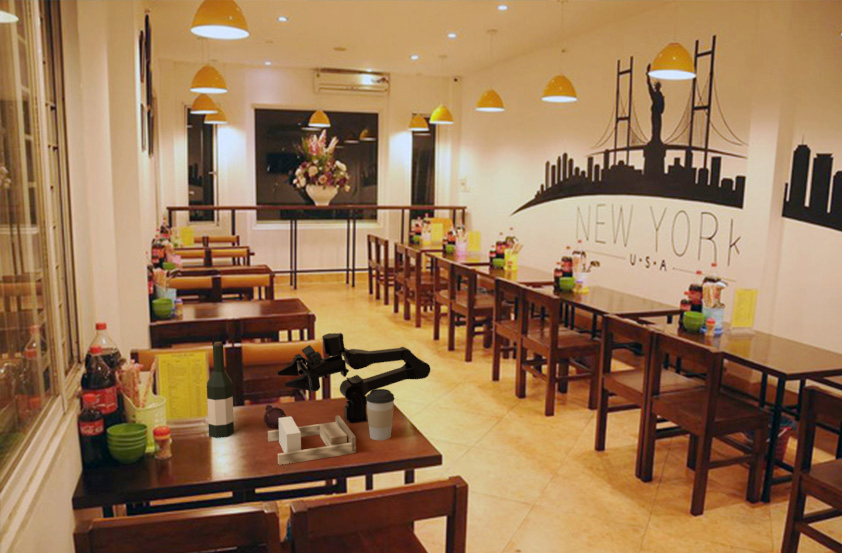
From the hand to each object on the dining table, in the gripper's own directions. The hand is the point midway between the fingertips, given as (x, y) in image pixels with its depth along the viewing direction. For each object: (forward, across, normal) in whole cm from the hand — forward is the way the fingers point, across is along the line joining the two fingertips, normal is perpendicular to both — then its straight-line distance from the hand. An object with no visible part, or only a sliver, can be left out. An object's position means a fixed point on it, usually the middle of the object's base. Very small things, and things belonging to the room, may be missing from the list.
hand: (281, 379), depth 206 cm
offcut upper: (-10, +18, +15) cm, 26 cm away
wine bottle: (+21, -5, +16) cm, 26 cm away
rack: (-2, +18, +16) cm, 24 cm away
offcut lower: (-9, +18, +18) cm, 27 cm away
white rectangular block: (+4, +17, +15) cm, 24 cm away
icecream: (+4, -3, +18) cm, 18 cm away
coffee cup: (-24, +20, +20) cm, 37 cm away
